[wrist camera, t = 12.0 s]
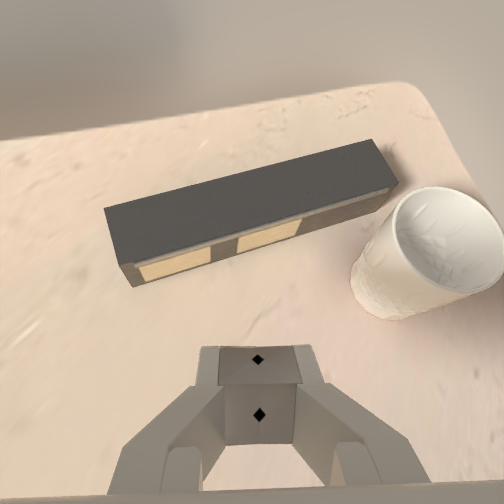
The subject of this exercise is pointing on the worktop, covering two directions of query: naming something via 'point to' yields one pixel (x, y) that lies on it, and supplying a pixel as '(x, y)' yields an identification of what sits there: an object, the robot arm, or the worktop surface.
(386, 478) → the robot arm
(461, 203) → the white cup
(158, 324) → the worktop surface
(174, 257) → the long dark grey beam
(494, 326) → the worktop surface
